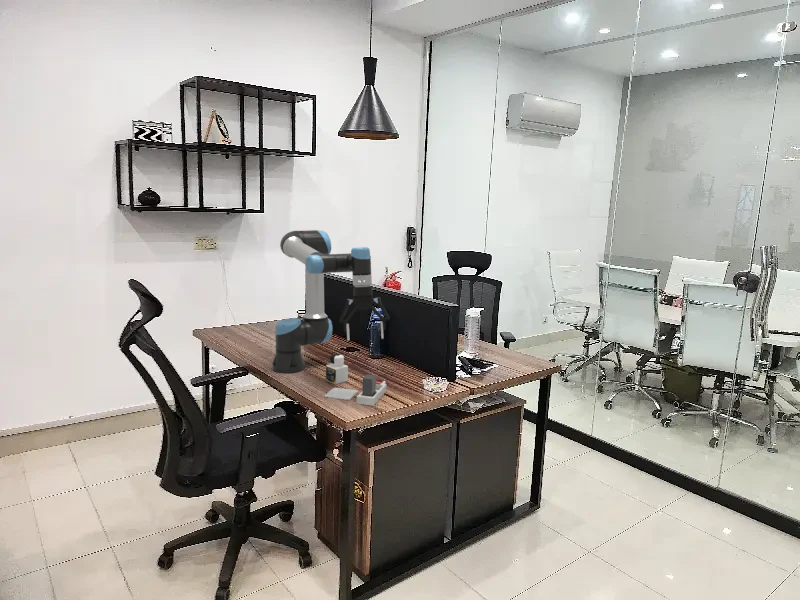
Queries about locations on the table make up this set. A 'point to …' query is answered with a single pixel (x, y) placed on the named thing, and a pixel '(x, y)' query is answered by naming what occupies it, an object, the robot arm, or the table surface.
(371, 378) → the block
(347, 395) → the mat
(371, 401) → the power strip
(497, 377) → the table surface
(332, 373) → the medicine bottle
